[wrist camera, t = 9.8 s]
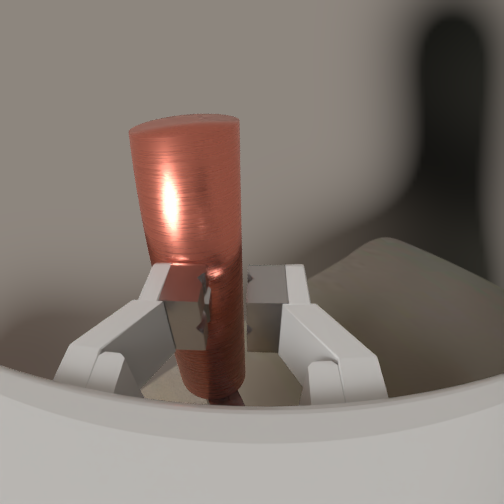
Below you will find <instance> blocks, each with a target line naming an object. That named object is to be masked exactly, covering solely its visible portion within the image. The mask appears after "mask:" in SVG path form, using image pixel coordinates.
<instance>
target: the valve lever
mask: <svg viewBox="0 0 504 504" xmlns="http://www.w3.org/2000/svg"><path fill="white" fill-rule="evenodd" d="M239 130H240V128H239V119H238V118H236V117H233V116H228V115H221V114H190V115H180V116H172V117H166V118H161V119H156V120H152V121H149V122H145V123H142V124H140V125H138V126H135V127H133V128H132V129H130V130H129V138H130V147H131V154H132V161H133V168H134V175H135V181H136V188H137V194H138V198H139V205H140V211H141V216H142V221H143V227H144V231H145V236H146V242H147V247H148V251H149V255H150V260H151V265H152V267H153V265H154V264H155V263H187V264H207V265H208V267H209V273H210V279H209V284H208V286H209V287H210V288H211V292H212V314H211V321H210V322H208V323H207V324H208V331H209V333H208V339H207V346H206V350H178V349H176V352H175V353H174V354H175V357H176V360H177V364H178V367H179V370H180V373H181V377H182V380H183V383H184V385H185V386H186V388H187V389H188V390H189V391H190V392H191V393H193V394H194V395H196V396H198V397H201V398H204V399H206V400H207V403H208V405H226V406H245V405H244V403H243V401H242V398H241V396H240V394H239V392H238V389H239V388H240V387H241V385H242V384H243V381H244V379H245V346H244V315H243V278H242V240H241V239H242V237H241V190H240V189H241V187H240V135H239V134H240V132H239Z"/></svg>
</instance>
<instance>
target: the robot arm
mask: <svg viewBox="0 0 504 504" xmlns="http://www.w3.org/2000/svg"><path fill="white" fill-rule="evenodd" d="M209 279H210V273H209V267H208V265H207V264H187V263H155V264H154V265H153V267H152V269H151V271H150V273H149V276H148V278H147V280H146V283H145V285H144V287H143V290H142V292H141V294H140V297H139V299H138V300H132V301H131V302H129V303H128V304H126V305H125V306H124V307H123V308H121V309H119V310H118V311H117V312H115V313H114V314H112V315H111V316H109V317H108V318H106V319H105V320H104V321H102V322H101V323H99V324H98V325H97V326H95V327H94V328H92V329H91V330H90V331H88V332H87V333H85V334H84V335H82V336H81V337H80V338H78V339H77V340H75V341H74V342H73V343H71V344H70V345H69V347H68V349H67V352H66V354H65V356H64V358H63V360H62V362H61V364H60V366H59V368H58V371H57V373H56V375H55V377H54V379H53V380H48V379H45V378H41V377H37V376H33V375H30V374H26V373H23V372H20V371H16V370H13V369H10V368H7V367H4V366H1V365H0V504H504V373H503V374H500V375H496V376H493V377H489V378H485V379H482V380H478V381H474V382H470V383H466V384H462V385H457V386H453V387H448V388H444V389H439V390H434V391H428V392H423V393H417V394H411V395H405V396H399V397H392V398H388V394H387V390H386V387H385V383H384V379H383V376H382V372H381V369H380V365H379V362H378V358H377V356H376V355H375V354H373V353H372V352H371V351H370V350H369V349H368V348H367V347H365V346H364V345H363V344H362V343H361V342H360V341H359V340H357V339H356V338H355V337H354V336H353V335H352V334H350V333H349V332H348V331H347V330H346V329H345V328H344V327H342V326H341V325H340V324H339V323H338V322H337V321H336V320H334V319H333V318H332V317H331V316H330V315H329V314H328V313H326V312H325V311H324V310H323V309H322V308H321V307H319V306H318V305H317V304H311V301H310V295H309V290H308V284H307V279H306V274H305V269H304V266H303V264H288V265H248V284H247V299H246V301H247V302H246V316H247V318H246V320H247V352H271V353H278V354H279V356H280V357H281V358H282V360H283V361H284V362H285V364H286V365H287V366H288V368H289V369H290V370H291V372H292V373H293V374H294V376H295V377H296V378H297V380H298V381H299V382H300V384H301V385H302V386H303V389H302V393H301V398H300V401H299V405H298V406H226V405H208V404H194V403H182V402H172V401H163V400H155V399H147V398H144V396H143V394H142V393H141V391H140V389H141V388H142V387H143V386H144V385H145V384H146V383H147V381H148V380H149V379H150V378H151V377H152V376H153V375H154V374H155V373H156V372H157V371H158V370H159V369H160V368H161V367H162V366H163V364H164V363H165V362H166V361H167V360H168V359H169V358H170V357H171V356H172V355H173V354H174V353H175V352H176V349H178V350H206V346H207V339H208V333H209V331H208V324H207V323H208V322H210V321H211V314H212V292H211V288H210V287H209V286H208V284H209Z"/></svg>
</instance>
